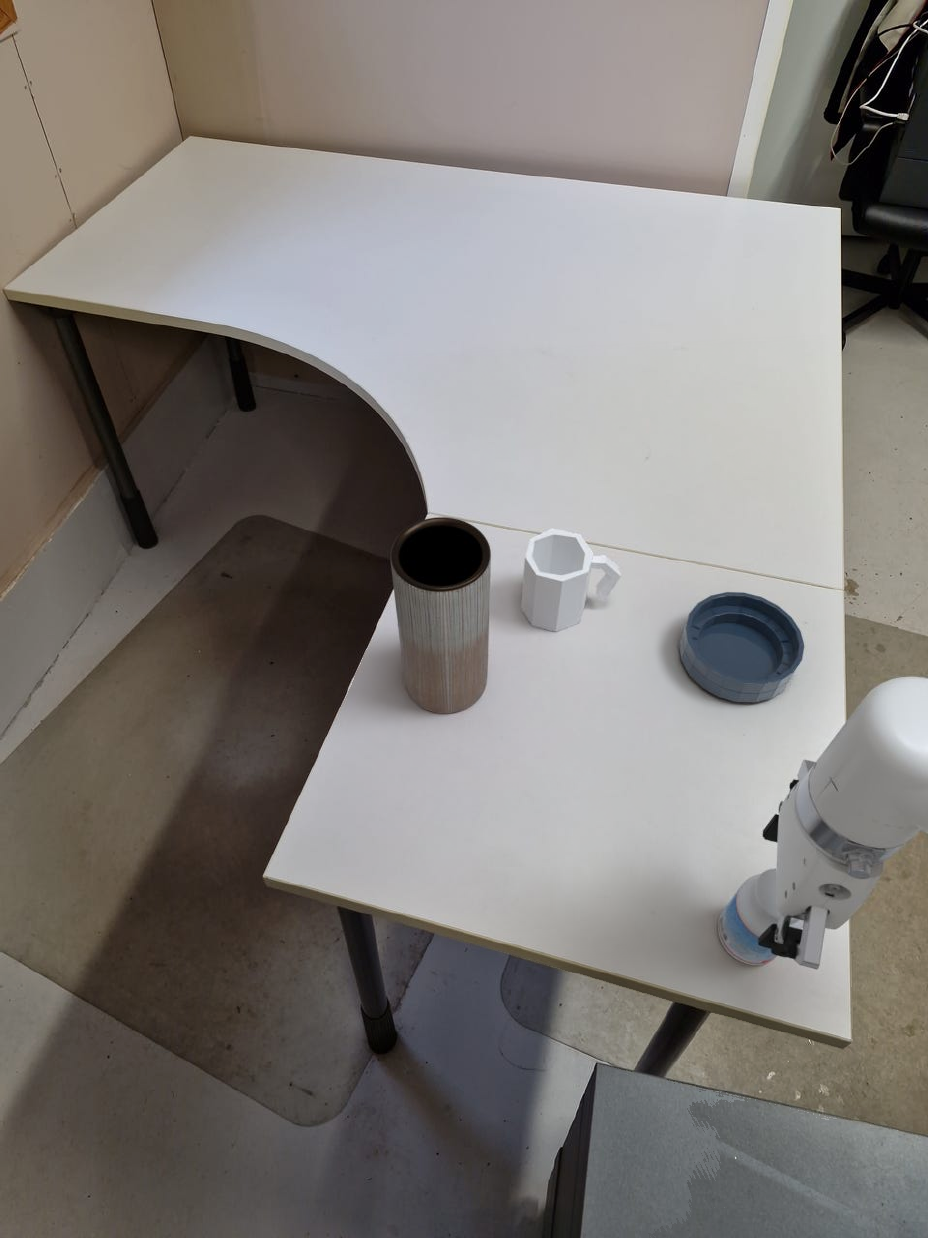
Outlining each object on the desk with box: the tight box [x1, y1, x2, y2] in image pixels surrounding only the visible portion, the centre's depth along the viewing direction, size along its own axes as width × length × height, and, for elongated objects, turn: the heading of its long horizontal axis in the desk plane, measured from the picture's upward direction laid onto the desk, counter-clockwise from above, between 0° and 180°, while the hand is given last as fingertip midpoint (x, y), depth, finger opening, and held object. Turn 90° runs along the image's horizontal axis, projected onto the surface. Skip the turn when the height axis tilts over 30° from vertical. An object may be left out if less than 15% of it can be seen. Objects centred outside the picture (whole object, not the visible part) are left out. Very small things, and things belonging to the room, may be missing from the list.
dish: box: [679, 591, 805, 703], centre depth 99 cm, size 14×14×4 cm
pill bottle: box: [717, 868, 804, 966], centre depth 76 cm, size 6×6×11 cm
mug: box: [520, 527, 622, 633], centre depth 102 cm, size 12×9×10 cm
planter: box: [389, 516, 492, 714], centre depth 90 cm, size 10×10×23 cm
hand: (778, 891), depth 71 cm, fingers open, 9 cm apart
